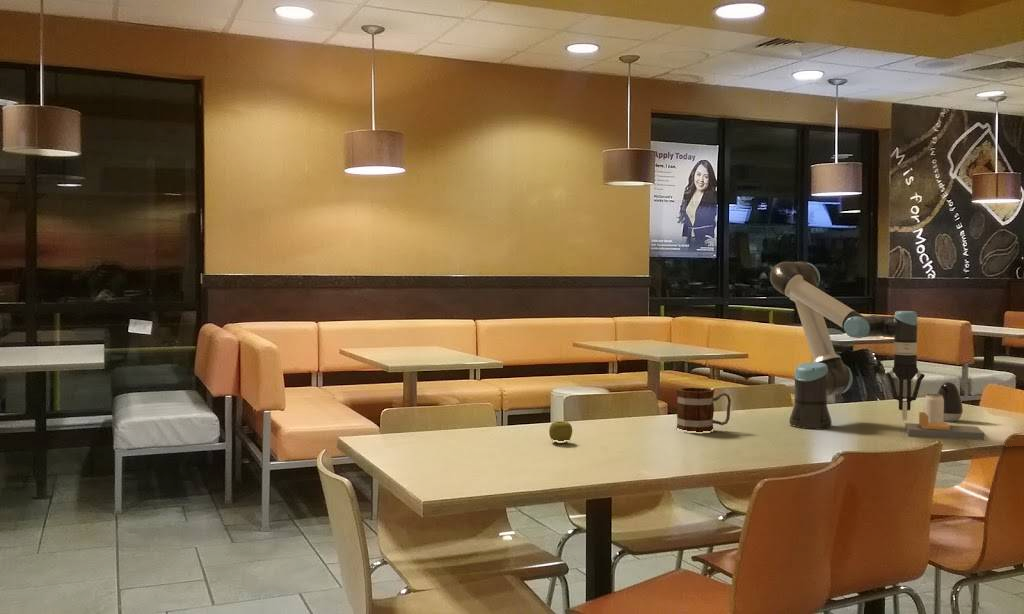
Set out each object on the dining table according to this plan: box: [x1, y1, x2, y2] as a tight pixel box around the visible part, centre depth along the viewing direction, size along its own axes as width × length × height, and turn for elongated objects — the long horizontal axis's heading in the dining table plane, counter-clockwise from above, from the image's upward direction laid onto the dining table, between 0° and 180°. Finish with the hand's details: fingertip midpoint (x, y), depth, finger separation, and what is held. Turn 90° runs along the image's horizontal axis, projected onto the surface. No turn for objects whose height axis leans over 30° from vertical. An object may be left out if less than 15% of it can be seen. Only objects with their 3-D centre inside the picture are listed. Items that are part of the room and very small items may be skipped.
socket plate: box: [904, 422, 985, 441], centre depth 325 cm, size 24×14×2 cm, turn 72°
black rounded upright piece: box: [936, 381, 964, 423], centre depth 356 cm, size 10×10×15 cm
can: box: [924, 393, 944, 423], centre depth 342 cm, size 6×6×12 cm
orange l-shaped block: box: [918, 411, 950, 430], centre depth 325 cm, size 9×9×4 cm
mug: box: [676, 387, 732, 432], centre depth 332 cm, size 20×14×15 cm
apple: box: [548, 421, 573, 441], centre depth 307 cm, size 8×8×7 cm
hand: (904, 419), depth 328 cm, fingers closed
